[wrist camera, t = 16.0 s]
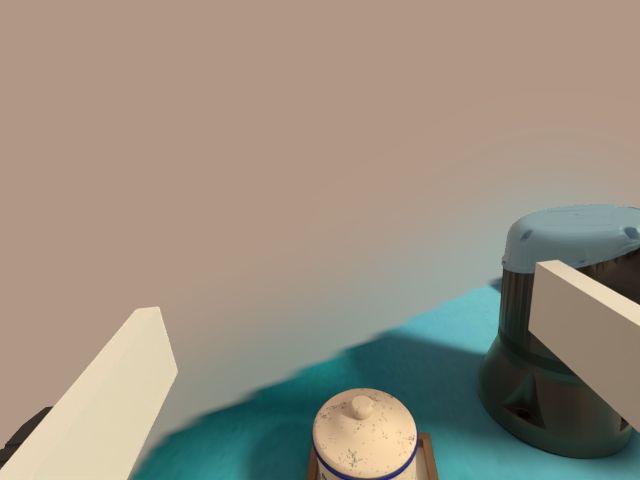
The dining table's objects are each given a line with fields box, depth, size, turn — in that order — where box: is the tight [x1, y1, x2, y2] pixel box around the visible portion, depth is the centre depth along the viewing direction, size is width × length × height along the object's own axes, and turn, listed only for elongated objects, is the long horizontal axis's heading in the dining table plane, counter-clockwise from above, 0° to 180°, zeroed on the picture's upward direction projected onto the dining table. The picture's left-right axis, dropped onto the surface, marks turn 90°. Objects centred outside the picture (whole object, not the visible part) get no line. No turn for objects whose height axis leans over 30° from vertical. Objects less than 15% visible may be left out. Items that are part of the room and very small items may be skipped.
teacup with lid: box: [312, 388, 418, 480], centre depth 30 cm, size 12×9×12 cm
